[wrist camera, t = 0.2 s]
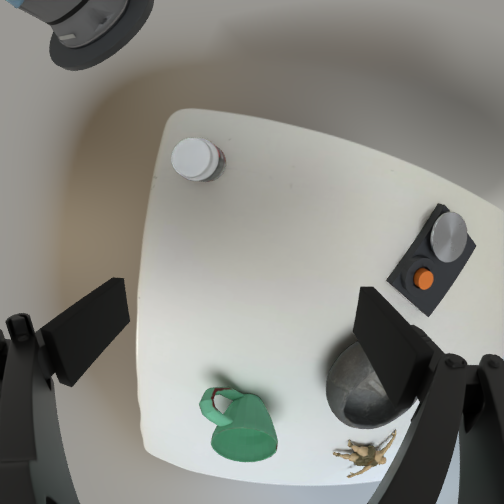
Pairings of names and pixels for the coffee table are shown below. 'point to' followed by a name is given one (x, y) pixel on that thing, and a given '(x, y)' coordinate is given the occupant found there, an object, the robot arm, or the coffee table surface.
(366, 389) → the bowl
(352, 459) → the figurine
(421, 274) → the button
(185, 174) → the pill bottle
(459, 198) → the coffee table surface
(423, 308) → the scale
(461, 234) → the scale pan
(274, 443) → the mug
